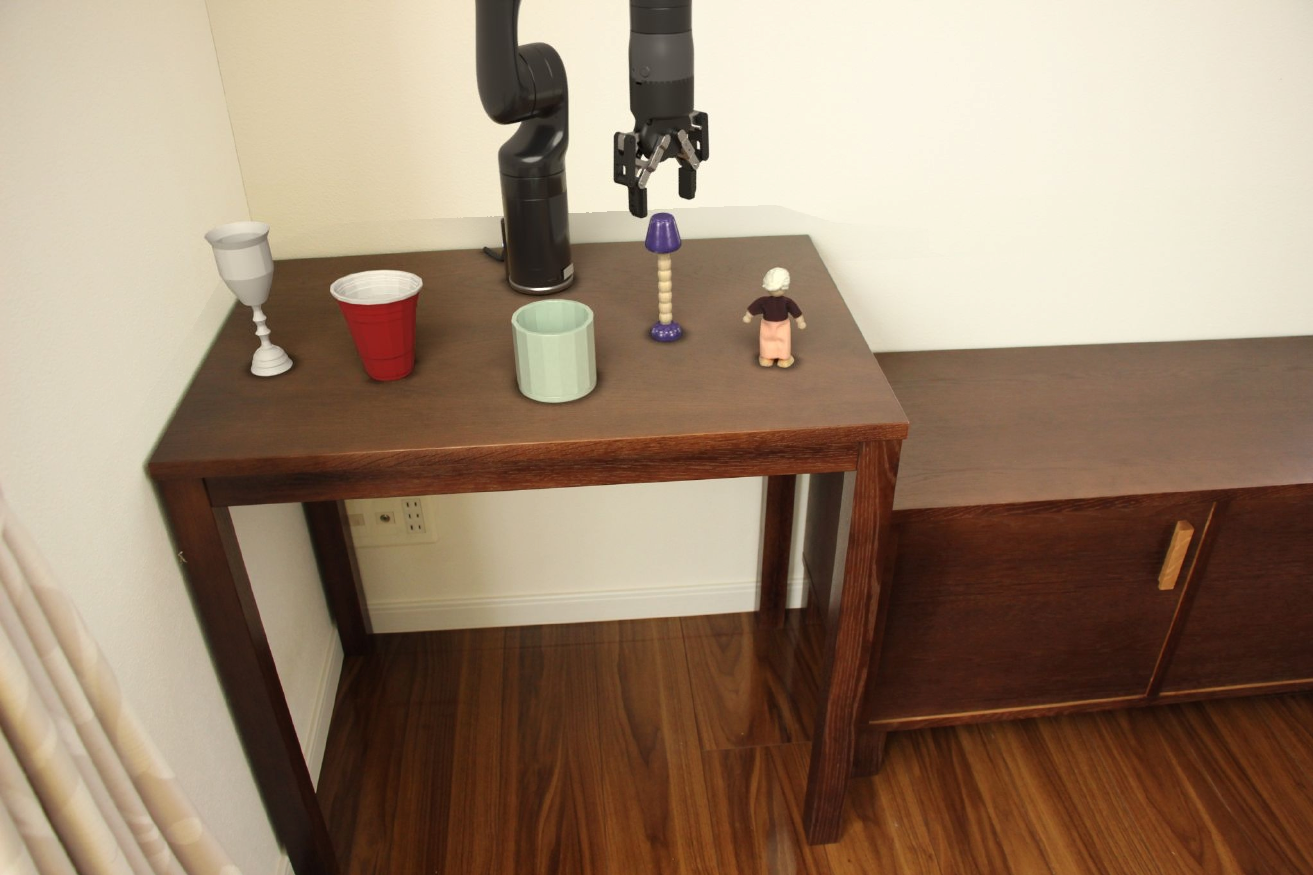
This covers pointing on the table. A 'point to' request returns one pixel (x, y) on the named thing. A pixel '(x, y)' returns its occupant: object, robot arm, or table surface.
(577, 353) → the glazed cup
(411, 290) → the plastic cup
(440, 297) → the table surface
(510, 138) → the robot arm
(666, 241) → the toy lamp
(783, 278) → the grandmother figurine
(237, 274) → the chalice
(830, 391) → the table surface
